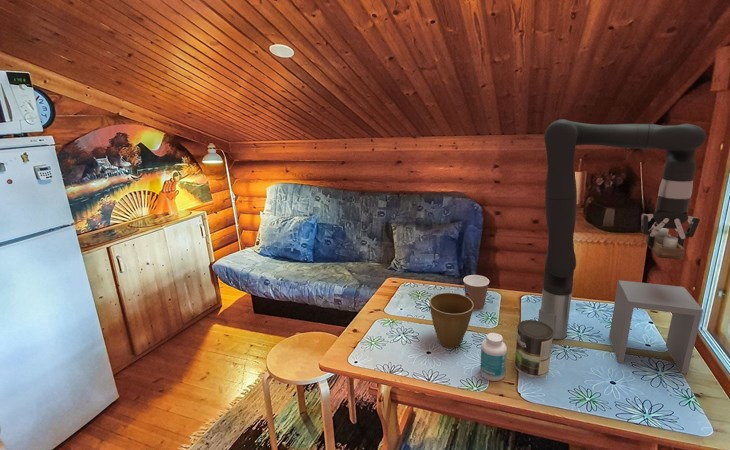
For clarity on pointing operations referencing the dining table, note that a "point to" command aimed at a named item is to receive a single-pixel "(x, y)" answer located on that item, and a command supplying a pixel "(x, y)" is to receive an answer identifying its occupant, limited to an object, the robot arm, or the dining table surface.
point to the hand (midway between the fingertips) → (663, 248)
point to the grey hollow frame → (659, 300)
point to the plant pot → (450, 317)
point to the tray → (668, 250)
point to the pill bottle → (493, 357)
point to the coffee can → (533, 348)
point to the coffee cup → (476, 290)
